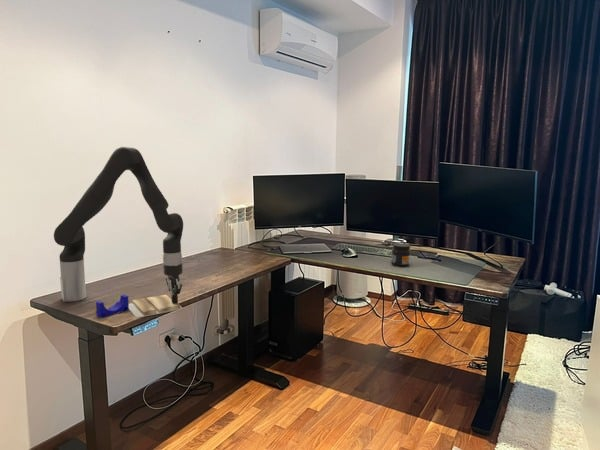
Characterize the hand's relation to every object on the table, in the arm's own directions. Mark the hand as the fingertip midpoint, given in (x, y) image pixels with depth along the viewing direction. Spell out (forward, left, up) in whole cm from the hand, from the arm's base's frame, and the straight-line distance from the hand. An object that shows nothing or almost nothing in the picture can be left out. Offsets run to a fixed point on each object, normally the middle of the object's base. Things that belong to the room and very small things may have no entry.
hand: (174, 302), depth 193 cm
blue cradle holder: (-23, +8, -2) cm, 24 cm away
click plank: (-3, +5, -2) cm, 6 cm away
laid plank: (-11, +5, -2) cm, 12 cm away
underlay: (-7, +5, -2) cm, 9 cm away
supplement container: (+133, -1, -2) cm, 133 cm away
